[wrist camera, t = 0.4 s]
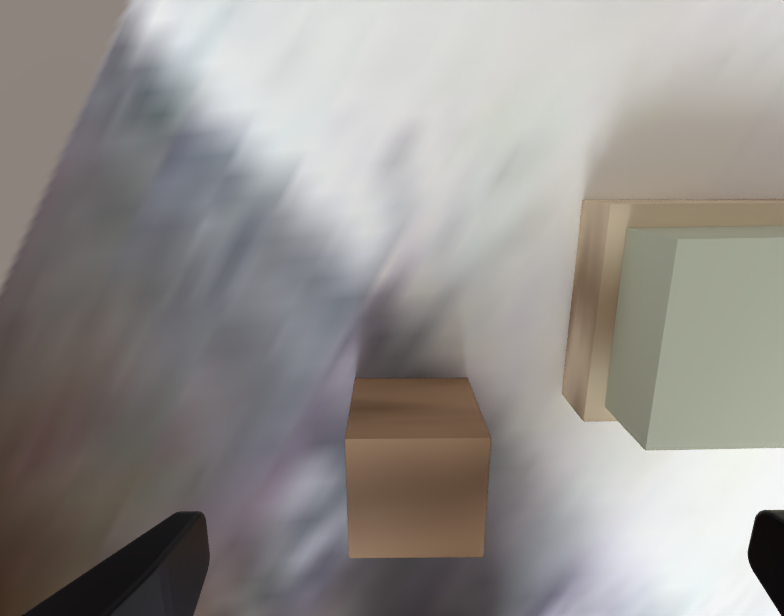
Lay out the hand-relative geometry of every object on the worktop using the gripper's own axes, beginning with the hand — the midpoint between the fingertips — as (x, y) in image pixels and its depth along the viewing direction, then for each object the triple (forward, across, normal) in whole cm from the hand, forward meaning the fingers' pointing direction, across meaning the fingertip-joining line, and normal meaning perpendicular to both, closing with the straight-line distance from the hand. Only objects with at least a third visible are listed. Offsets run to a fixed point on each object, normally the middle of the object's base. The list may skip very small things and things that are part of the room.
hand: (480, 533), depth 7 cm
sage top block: (+10, -10, -1) cm, 15 cm away
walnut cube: (+13, 0, +5) cm, 14 cm away
